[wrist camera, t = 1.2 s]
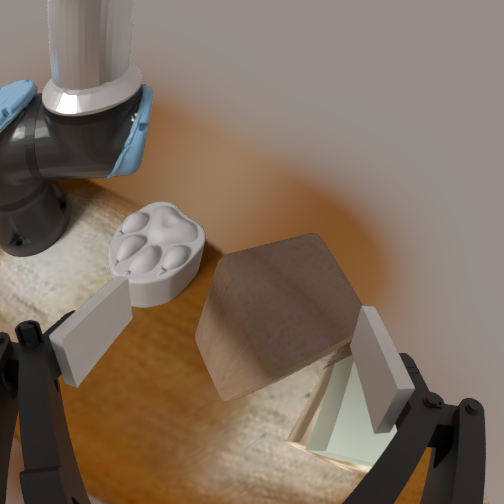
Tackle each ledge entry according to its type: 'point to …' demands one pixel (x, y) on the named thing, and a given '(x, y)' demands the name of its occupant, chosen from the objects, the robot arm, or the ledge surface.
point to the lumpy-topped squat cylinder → (156, 253)
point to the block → (274, 314)
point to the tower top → (347, 421)
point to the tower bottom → (308, 419)
